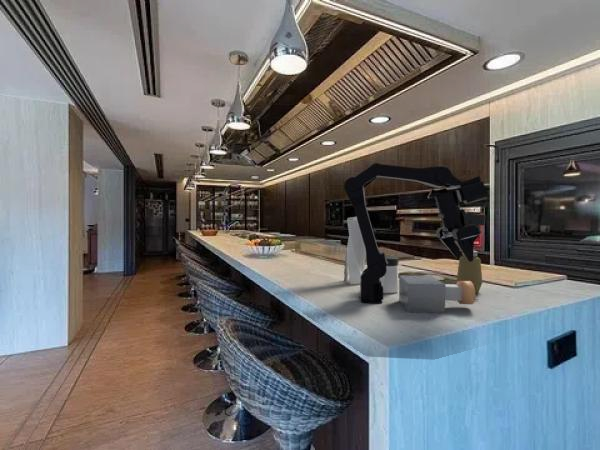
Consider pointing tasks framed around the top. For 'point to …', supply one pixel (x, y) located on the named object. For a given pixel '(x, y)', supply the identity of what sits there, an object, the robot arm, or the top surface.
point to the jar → (390, 276)
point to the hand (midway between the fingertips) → (464, 259)
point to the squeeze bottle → (470, 271)
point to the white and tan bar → (460, 292)
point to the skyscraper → (354, 254)
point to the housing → (422, 294)
